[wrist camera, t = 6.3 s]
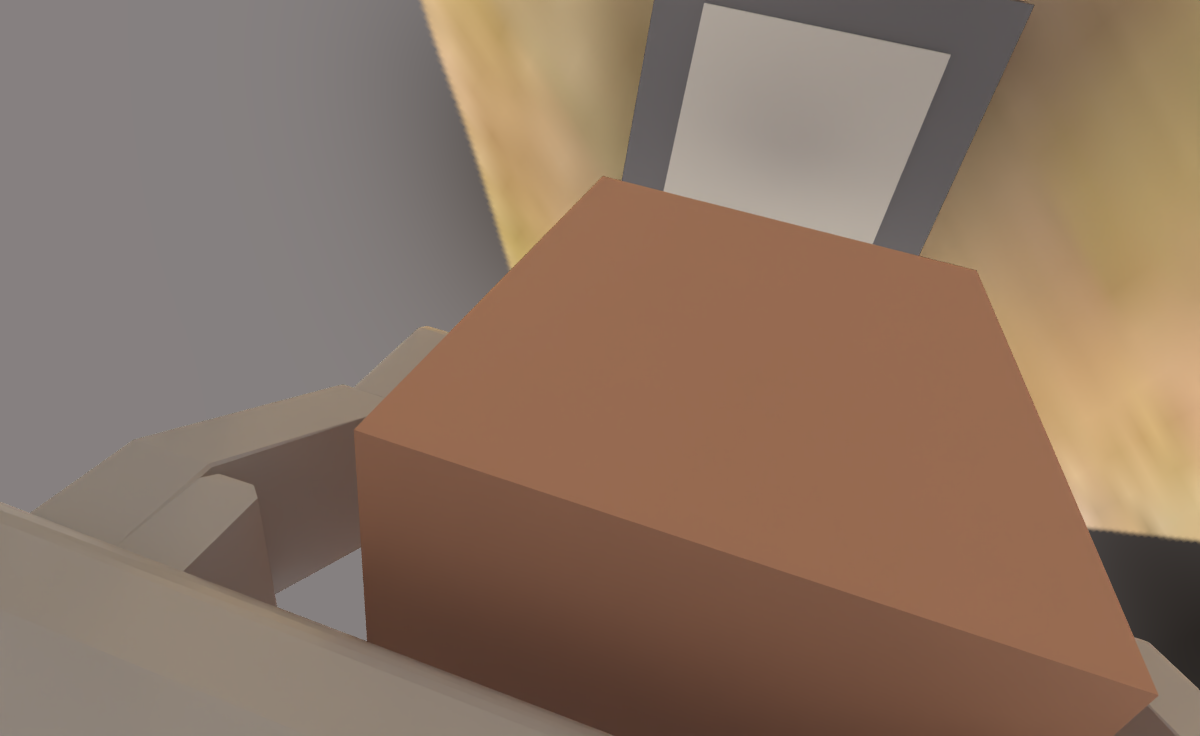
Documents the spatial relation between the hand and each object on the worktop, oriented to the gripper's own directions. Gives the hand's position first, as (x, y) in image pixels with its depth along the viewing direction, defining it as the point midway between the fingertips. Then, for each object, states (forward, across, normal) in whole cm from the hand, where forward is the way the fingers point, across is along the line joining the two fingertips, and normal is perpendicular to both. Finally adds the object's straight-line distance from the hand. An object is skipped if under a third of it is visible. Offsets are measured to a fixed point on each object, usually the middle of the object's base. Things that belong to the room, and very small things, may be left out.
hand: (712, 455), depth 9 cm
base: (+19, 0, 0) cm, 19 cm away
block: (+2, 0, 0) cm, 2 cm away
